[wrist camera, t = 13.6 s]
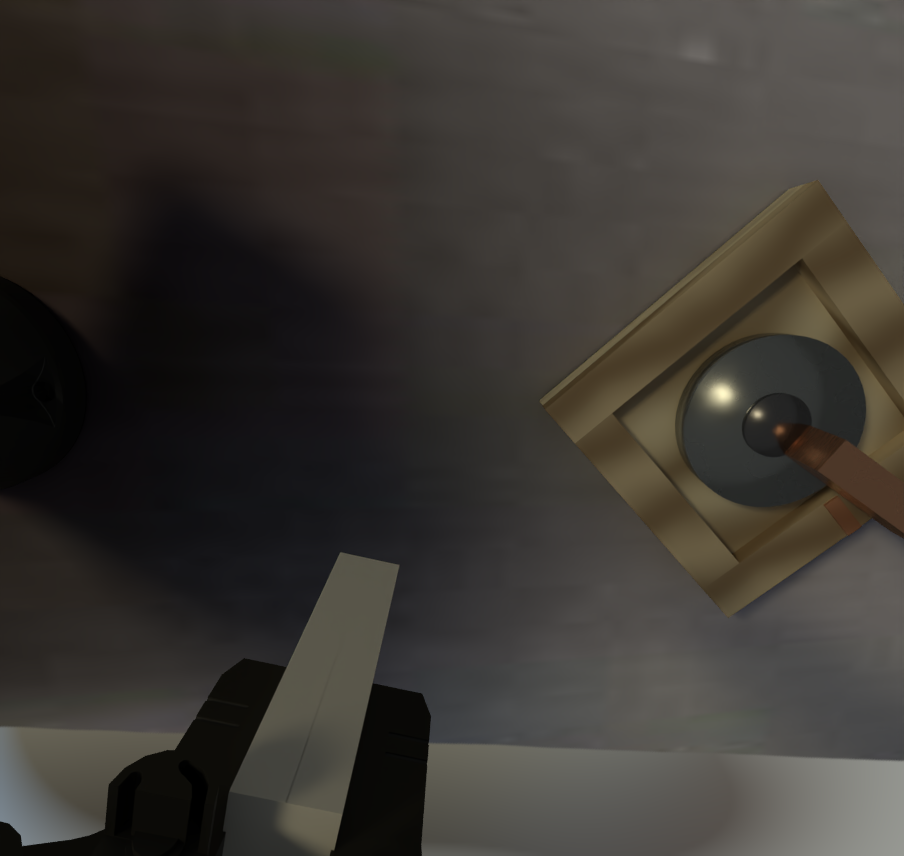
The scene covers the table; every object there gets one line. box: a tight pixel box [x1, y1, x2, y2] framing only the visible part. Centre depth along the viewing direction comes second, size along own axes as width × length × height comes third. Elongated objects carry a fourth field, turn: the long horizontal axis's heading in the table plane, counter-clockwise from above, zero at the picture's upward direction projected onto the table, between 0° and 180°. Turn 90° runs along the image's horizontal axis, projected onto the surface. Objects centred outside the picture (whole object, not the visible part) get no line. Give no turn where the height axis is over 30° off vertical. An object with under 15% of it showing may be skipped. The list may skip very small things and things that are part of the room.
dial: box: [675, 333, 904, 538], centre depth 33 cm, size 16×11×5 cm, turn 56°
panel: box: [539, 180, 904, 618], centre depth 35 cm, size 20×20×3 cm
